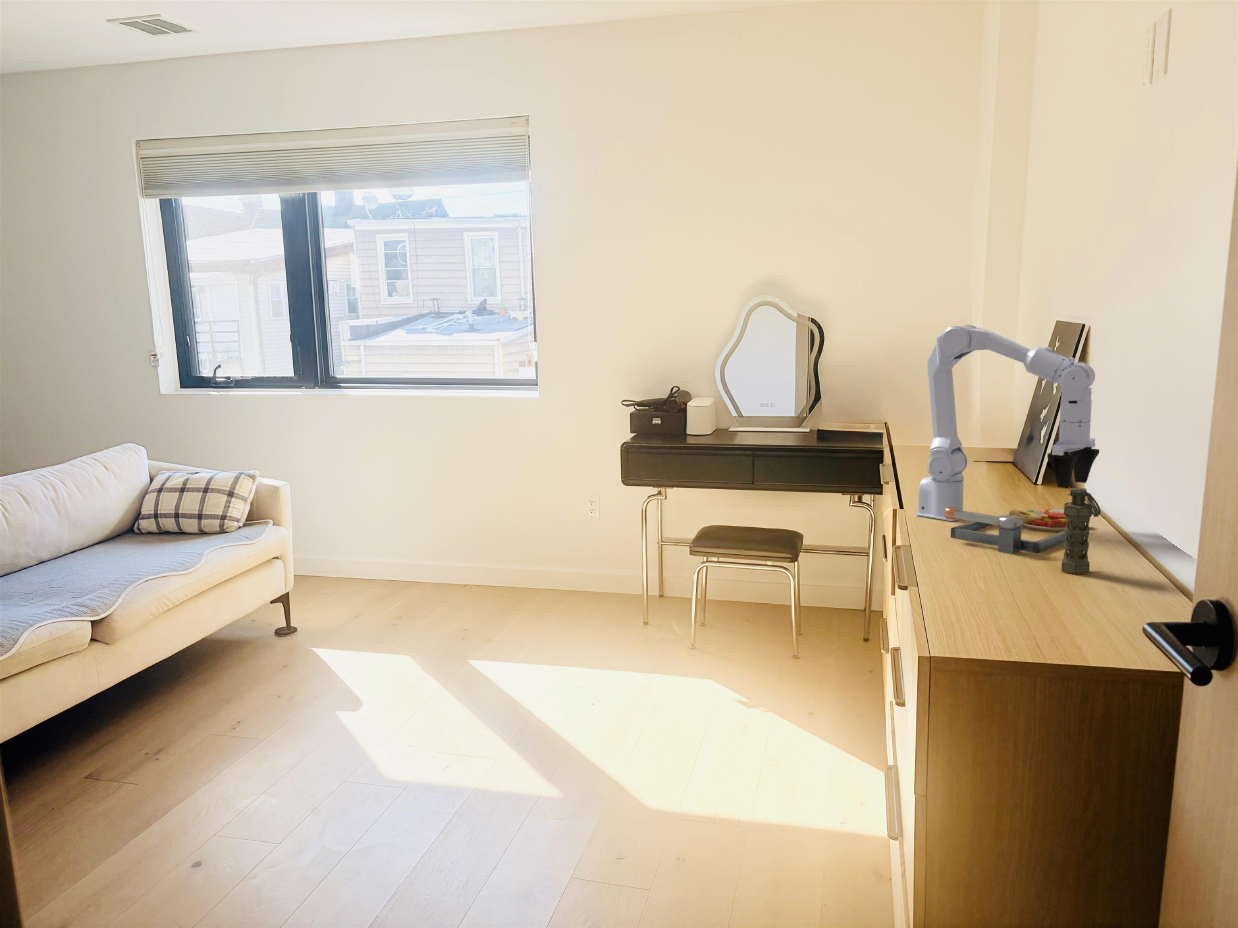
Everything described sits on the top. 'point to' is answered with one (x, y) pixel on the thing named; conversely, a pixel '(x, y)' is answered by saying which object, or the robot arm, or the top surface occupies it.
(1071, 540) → the grenade
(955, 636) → the top surface
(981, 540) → the tray
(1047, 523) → the toy food set
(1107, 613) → the top surface
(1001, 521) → the press arm
